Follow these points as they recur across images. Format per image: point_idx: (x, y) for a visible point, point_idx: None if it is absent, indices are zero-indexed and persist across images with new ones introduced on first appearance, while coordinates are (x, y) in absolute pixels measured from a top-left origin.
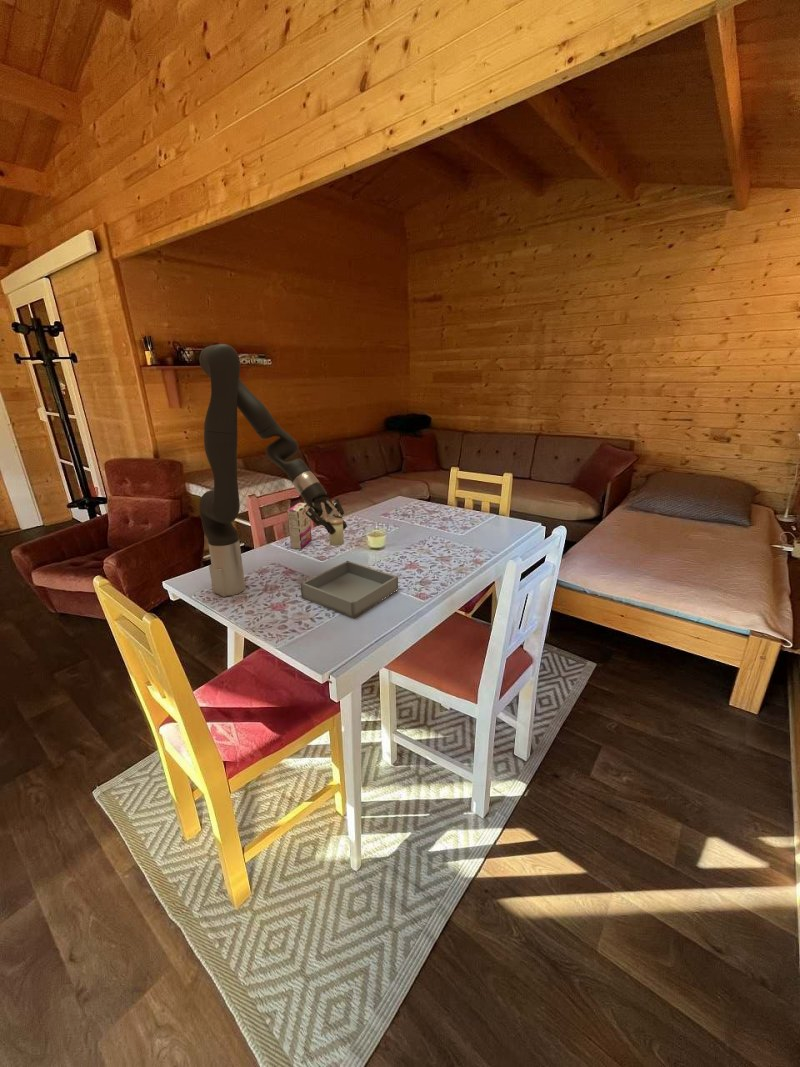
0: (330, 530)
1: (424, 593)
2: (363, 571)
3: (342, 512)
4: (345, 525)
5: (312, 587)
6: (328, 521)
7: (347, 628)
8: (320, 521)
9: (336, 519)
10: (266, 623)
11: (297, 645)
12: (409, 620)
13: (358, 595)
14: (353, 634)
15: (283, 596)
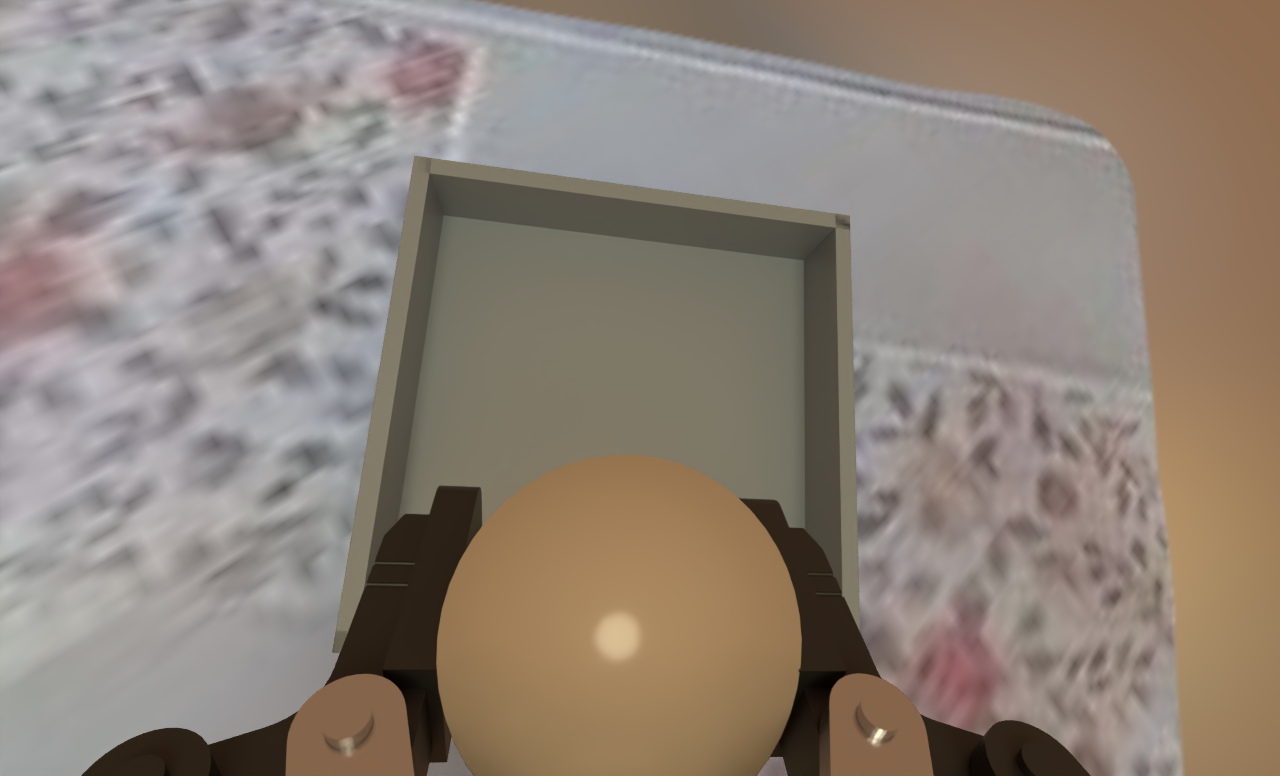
0: (815, 553)
1: (392, 74)
2: (394, 456)
3: (166, 774)
4: (464, 495)
5: (852, 549)
6: (780, 722)
7: (884, 236)
8: (1058, 758)
9: (591, 639)
10: (1088, 591)
11: (1092, 337)
12: (676, 43)
13: (637, 344)
14: (901, 191)
15: None
